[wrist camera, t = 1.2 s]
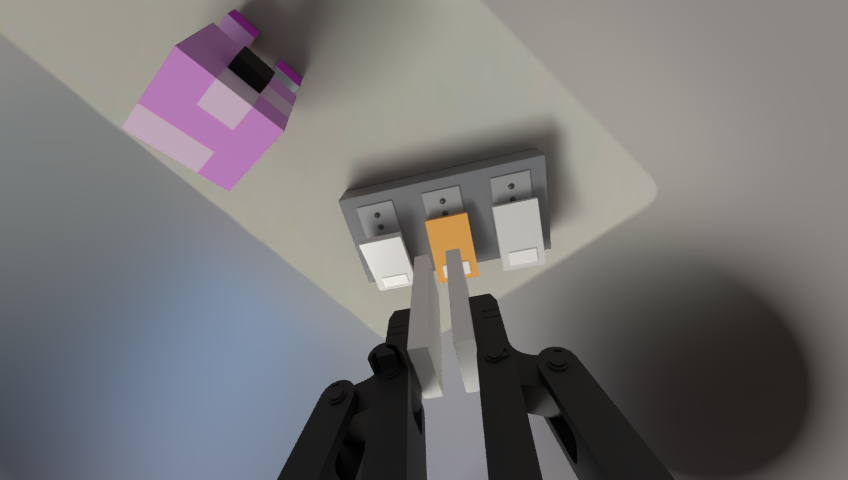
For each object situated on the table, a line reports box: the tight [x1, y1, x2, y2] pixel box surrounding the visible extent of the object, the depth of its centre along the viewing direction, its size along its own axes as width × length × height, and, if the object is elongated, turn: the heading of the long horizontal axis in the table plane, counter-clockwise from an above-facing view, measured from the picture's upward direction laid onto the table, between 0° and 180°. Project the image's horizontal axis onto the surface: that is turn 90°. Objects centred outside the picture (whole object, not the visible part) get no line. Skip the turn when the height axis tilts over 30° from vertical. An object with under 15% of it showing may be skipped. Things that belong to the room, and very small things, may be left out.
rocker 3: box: [492, 197, 546, 271], centre depth 38 cm, size 8×5×1 cm, turn 14°
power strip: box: [339, 148, 551, 283], centre depth 41 cm, size 12×24×4 cm, turn 103°
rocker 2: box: [425, 211, 479, 283], centre depth 39 cm, size 8×5×1 cm, turn 14°
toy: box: [121, 9, 302, 191], centre depth 30 cm, size 11×8×15 cm
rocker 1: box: [359, 232, 414, 291], centre depth 40 cm, size 8×5×1 cm, turn 13°
